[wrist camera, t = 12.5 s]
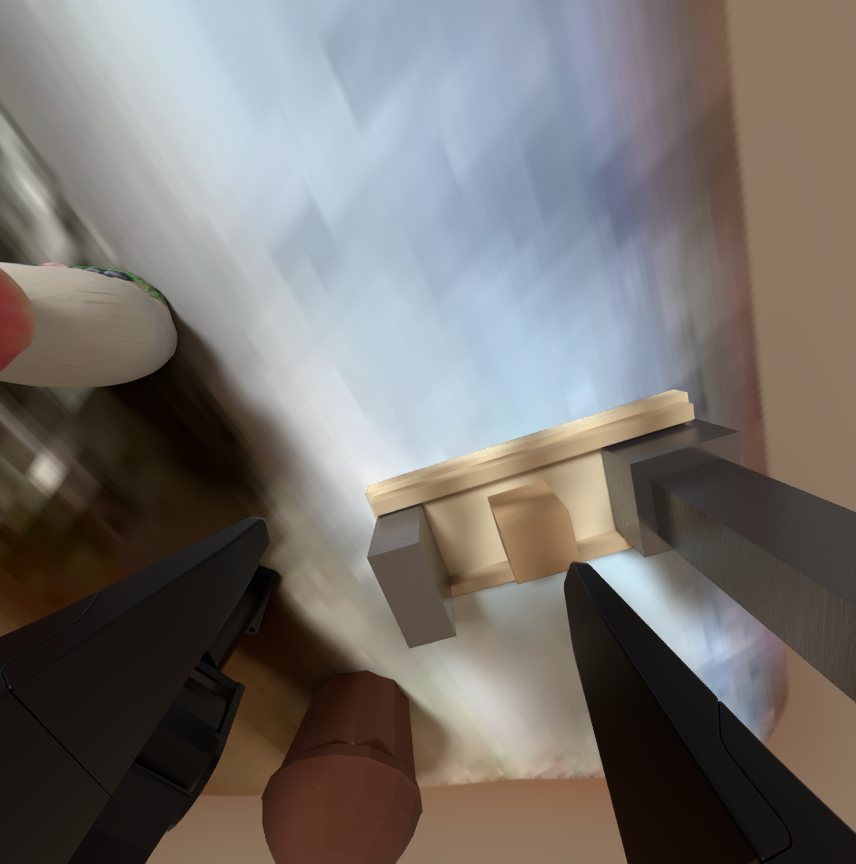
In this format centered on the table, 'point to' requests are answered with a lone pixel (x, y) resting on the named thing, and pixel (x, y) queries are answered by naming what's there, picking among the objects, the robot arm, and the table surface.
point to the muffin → (346, 778)
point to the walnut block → (534, 531)
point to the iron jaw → (413, 575)
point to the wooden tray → (518, 466)
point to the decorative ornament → (80, 326)
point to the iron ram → (744, 536)
